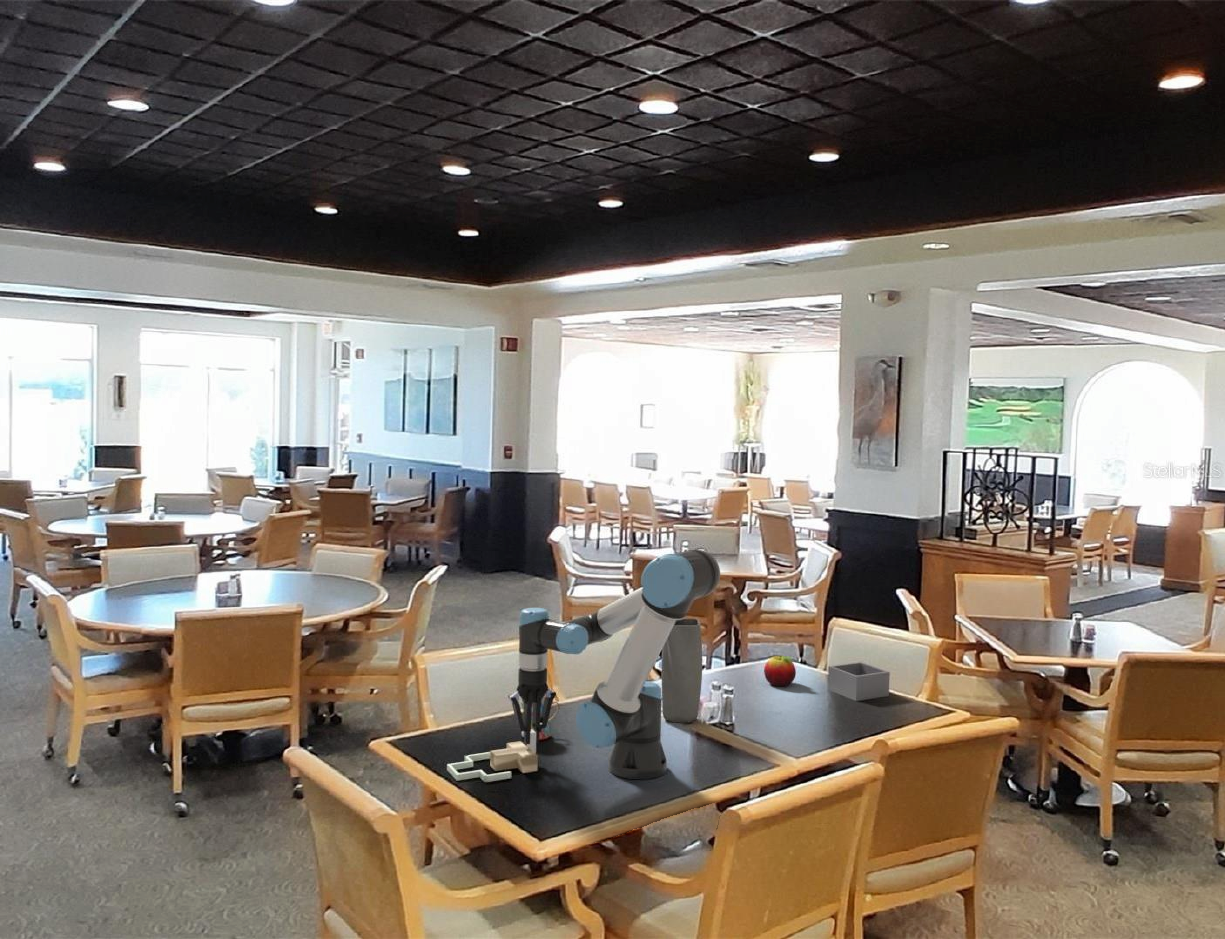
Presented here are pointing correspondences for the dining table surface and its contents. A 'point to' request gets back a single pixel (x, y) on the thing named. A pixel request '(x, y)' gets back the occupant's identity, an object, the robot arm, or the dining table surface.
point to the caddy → (858, 681)
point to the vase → (682, 671)
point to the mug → (544, 731)
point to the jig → (478, 773)
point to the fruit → (780, 671)
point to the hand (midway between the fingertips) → (531, 755)
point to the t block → (514, 758)
